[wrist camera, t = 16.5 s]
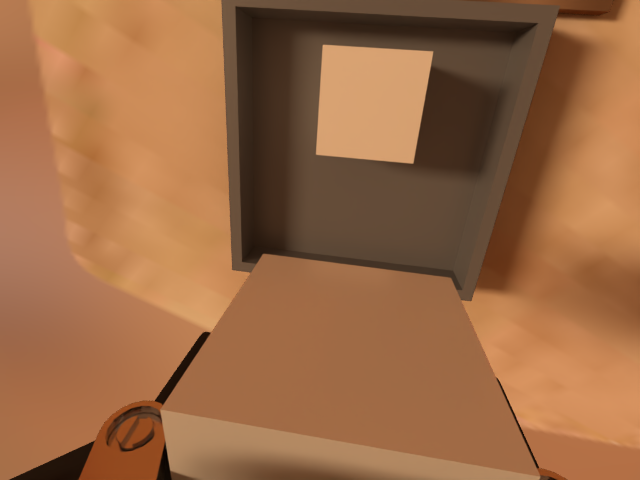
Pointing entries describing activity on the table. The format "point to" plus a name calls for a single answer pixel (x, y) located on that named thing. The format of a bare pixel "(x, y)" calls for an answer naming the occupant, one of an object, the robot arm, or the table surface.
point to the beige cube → (342, 384)
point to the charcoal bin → (372, 175)
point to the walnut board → (567, 5)
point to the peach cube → (371, 102)
